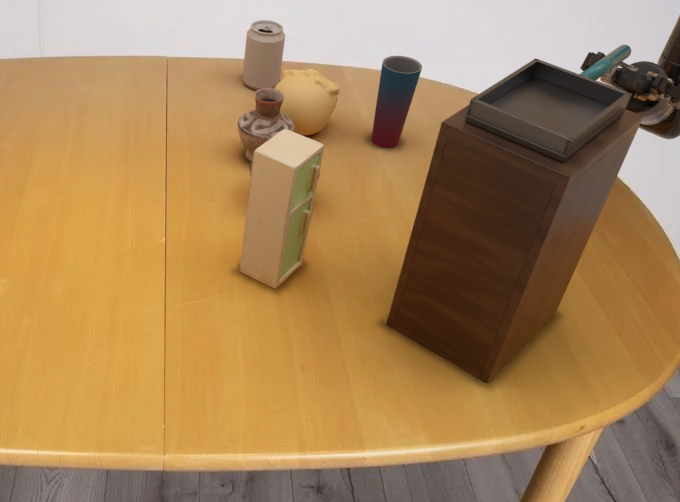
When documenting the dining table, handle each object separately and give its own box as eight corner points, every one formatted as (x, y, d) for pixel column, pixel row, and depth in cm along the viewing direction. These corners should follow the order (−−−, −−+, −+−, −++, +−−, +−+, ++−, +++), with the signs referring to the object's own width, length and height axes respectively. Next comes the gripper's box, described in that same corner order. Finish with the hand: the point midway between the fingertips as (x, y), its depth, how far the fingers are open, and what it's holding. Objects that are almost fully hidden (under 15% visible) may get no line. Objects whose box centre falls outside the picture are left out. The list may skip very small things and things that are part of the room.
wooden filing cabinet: (486, 383, 116) (570, 177, 94) (385, 324, 124) (441, 121, 102) (555, 314, 127) (644, 115, 105) (458, 264, 135) (522, 70, 113)
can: (237, 88, 174) (243, 29, 166) (247, 72, 179) (253, 15, 171) (274, 95, 173) (281, 36, 165) (282, 79, 178) (290, 21, 170)
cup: (398, 154, 158) (417, 76, 148) (361, 144, 160) (378, 67, 150) (407, 137, 163) (426, 61, 153) (371, 128, 165) (388, 52, 155)
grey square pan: (563, 163, 96) (572, 140, 94) (464, 120, 102) (470, 99, 100) (667, 79, 113) (676, 58, 111) (576, 47, 119) (584, 27, 117)
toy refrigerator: (279, 292, 128) (299, 169, 114) (238, 272, 131) (252, 149, 117) (307, 266, 133) (329, 145, 118) (267, 247, 136) (284, 126, 121)
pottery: (285, 140, 160) (293, 80, 152) (322, 220, 142) (334, 156, 134) (224, 143, 158) (230, 82, 150) (254, 224, 140) (262, 159, 132)
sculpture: (340, 125, 165) (350, 71, 158) (308, 150, 158) (317, 95, 151) (289, 105, 170) (296, 52, 163) (255, 128, 163) (261, 74, 155)
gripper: (611, 52, 135) (591, 26, 122) (705, 85, 128) (694, 60, 115) (586, 99, 137) (563, 78, 124) (676, 133, 130) (662, 115, 117)
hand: (626, 69), depth 119 cm, fingers open, 8 cm apart
